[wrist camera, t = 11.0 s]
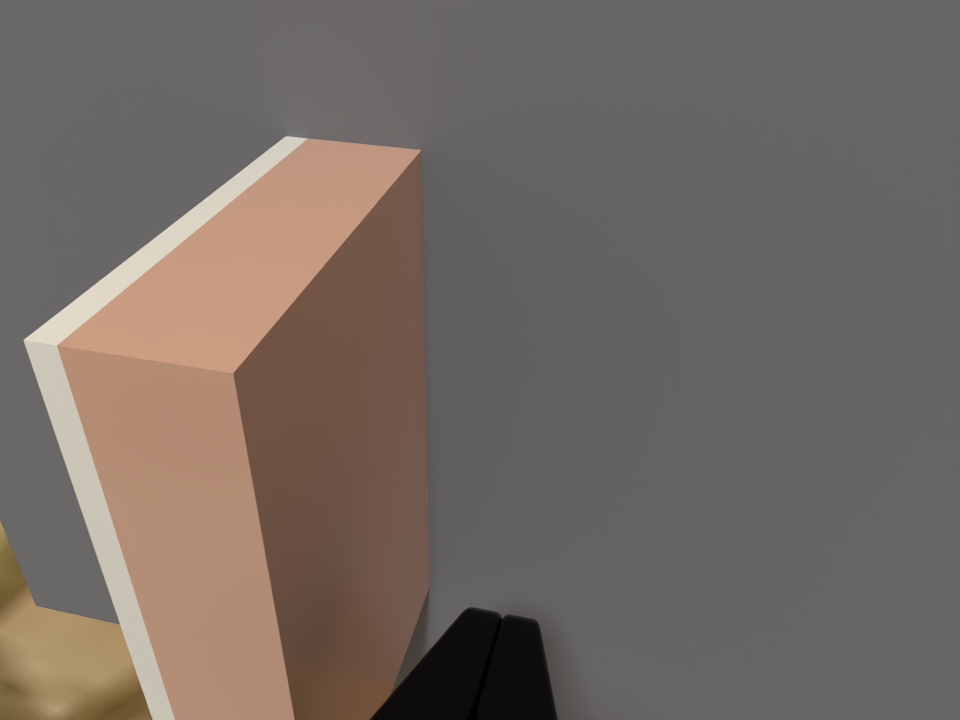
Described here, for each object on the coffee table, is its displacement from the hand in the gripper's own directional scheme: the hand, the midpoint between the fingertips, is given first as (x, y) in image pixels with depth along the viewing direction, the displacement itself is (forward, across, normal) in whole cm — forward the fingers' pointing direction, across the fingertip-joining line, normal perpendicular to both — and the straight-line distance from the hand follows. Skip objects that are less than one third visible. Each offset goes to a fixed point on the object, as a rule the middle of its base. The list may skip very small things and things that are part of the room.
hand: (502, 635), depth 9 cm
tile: (+4, +3, 0) cm, 5 cm away
